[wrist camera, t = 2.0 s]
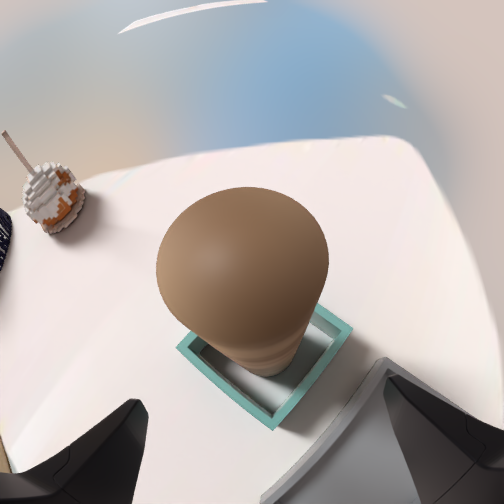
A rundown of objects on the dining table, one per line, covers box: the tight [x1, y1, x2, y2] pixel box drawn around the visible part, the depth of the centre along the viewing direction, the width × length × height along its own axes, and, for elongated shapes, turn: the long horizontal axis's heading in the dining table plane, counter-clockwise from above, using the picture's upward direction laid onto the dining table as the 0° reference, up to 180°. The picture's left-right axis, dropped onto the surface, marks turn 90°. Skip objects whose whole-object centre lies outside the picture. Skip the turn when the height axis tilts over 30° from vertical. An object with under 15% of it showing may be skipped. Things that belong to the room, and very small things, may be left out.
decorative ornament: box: [2, 130, 86, 234], centre depth 23 cm, size 8×8×15 cm
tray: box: [260, 357, 475, 504], centre depth 13 cm, size 14×12×2 cm
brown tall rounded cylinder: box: [156, 187, 329, 376], centre depth 13 cm, size 4×4×15 cm
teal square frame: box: [175, 303, 353, 431], centre depth 18 cm, size 9×9×3 cm
